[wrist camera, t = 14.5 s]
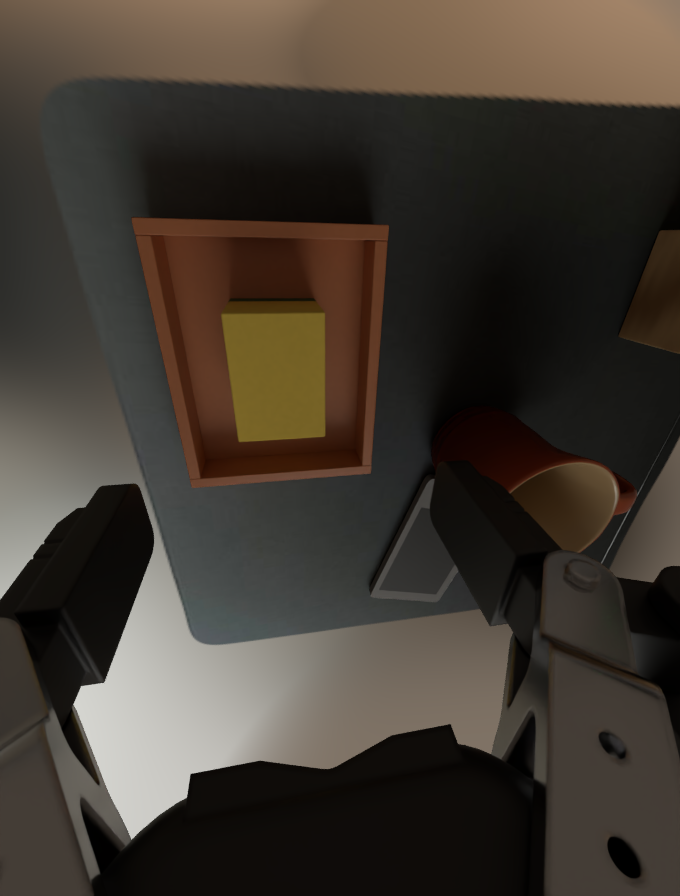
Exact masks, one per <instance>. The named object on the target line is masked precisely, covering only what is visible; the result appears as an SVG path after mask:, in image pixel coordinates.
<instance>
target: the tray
mask: <svg viewBox="0 0 680 896" xmlns="http://www.w3.org/2000/svg"><path fill="white" fill-rule="evenodd" d="M131 219H132V224H133V228H134V233H135V234H136V236H135V237H136V241H137V245H138V250H139V254H140V259H141V263H142V268H143V272H144V277H145V281H146V286H147V290H148V294H149V299H150V303H151V308H152V312H153V317H154V321H155V326H156V330H157V334H158V339H159V343H160V348H161V352H162V357H163V361H164V366H165V370H166V375H167V379H168V383H169V388H170V392H171V397H172V401H173V406H174V410H175V415H176V419H177V424H178V428H179V432H180V437H181V441H182V446H183V450H184V455H185V459H186V464H187V468H188V473H189V477H190V482H191V486H192V488H196V487H209V486H221V485H233V484H246V483H258V482H270V481H283V480H295V479H307V478H320V477H332V476H344V475H357V474H369V473H371V460H372V447H373V433H374V420H375V406H376V392H377V379H378V365H379V352H380V338H381V325H382V311H383V297H384V284H385V270H386V257H387V243H388V242H387V240H388V231H389V225H373V224H340V223H308V222H275V221H242V220H209V219H177V218H144V217H131ZM231 298H314V299H315V300H316V302H317V303H318V304H319V306H320V307H321V308H322V309H323V311H324V312H325V436H324V437H311V438H295V439H280V440H264V441H249V442H239V441H238V436H237V429H236V421H235V414H234V407H233V399H232V392H231V385H230V378H229V370H228V363H227V356H226V348H225V341H224V334H223V327H222V319H221V313H222V311H223V310H224V308H225V307H226V305H227V303H228V301H229V300H230V299H231Z"/></svg>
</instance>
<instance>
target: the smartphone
mask: <svg viewBox="0 0 680 896" xmlns="http://www.w3.org/2000/svg"><path fill="white" fill-rule="evenodd" d="M434 480H435V475H432V474H429V475H427V476H426V477H425V479H424V480H423V482H422V484H421V486H420V488H419V490H418V492H417V494H416V496H415V498H414V500H413V502H412V504H411V506H410V508H409V510H408V512H407V514H406V516H405V518H404V520H403V522H402V524H401V526H400V528H399V530H398V532H397V534H396V536H395V538H394V540H393V542H392V544H391V546H390V548H389V550H388V552H387V554H386V556H385V558H384V560H383V562H382V564H381V566H380V568H379V570H378V572H377V574H376V576H375V578H374V580H373V582H372V584H371V586H370V589H369V591H370V594H371V597H372V598H385V599H398V600H412V601H425V602H437V601H438V600H439V599H440V598H441V596H442V595H443V593H444V592H445V590H446V589H447V587H448V585H449V584H450V582H451V581H452V579H453V577H454V576H455V574H456V573H457V572H458V569H457V567H456V565H455V563H454V562H453V560H452V558H451V556H450V555H449V553H448V551H447V549H446V548H445V546H444V544H443V542H442V540H441V539H440V537H439V535H438V533H437V532H436V530H435V528H434V526H433V524H432V521H431V517H430V501H431V496H432V491H433V485H434Z"/></svg>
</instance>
